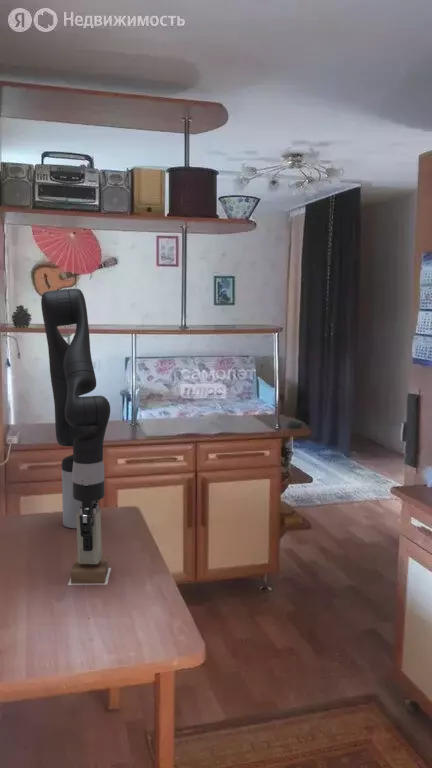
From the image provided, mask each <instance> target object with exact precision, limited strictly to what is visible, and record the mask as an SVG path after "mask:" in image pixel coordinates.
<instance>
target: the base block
mask: <svg viewBox="0 0 432 768" xmlns="http://www.w3.org/2000/svg"><path fill="white" fill-rule="evenodd" d="M108 568H109V557H102V558H101V560H100V561H99V563H98V564H81V563H78V557H76V558H75V559H74V562H73V565H72V568H71V570H70V578H71V584H96V583H105V580H106V576H107V573H108Z"/></svg>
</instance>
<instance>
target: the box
mask: <svg viewBox="0 0 432 768" xmlns="http://www.w3.org/2000/svg"><path fill="white" fill-rule="evenodd" d="M79 516H80V510H79V511H78V512H77V513H76V523H77V528H76V542H77V543H76V544H77V558H78V563H81V564H98V563H99V561H100V560H101V558H103V548H102V546H103V545H102V544H103V543H102V524H101V523H102V520H101V519H102V518H101V508H100V507H98V509H97V512H96V514H92V519H91V523H92V521H93V516H94V517H95V525H94V526H93V549H92V551H84V550H83V537H81V535H80V533H81V531H80V518H79ZM85 531H89V529H85Z"/></svg>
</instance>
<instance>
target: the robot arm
mask: <svg viewBox="0 0 432 768" xmlns="http://www.w3.org/2000/svg"><path fill="white" fill-rule="evenodd" d="M40 302H41V303H40V305H41V312H42V314H41V315H42V320H43V324H44V330H45V336H46V340H47V350H48V361H49V362H48V363H49V373H50V374H49V375H50V381H51V388H52V396H53V403H54V422H55V423H54V424H55V436H56V442H57V444H58V445H59V446H61V447H72V453H73V454H71V455H68V456H66V457H64V458H63V459H62V460H61V488H62V489H61V490H62V491H61V492H62V495H61V496H62V502H61V503H62V525H63V526H64V527H65V528H69V529H77V523H76V513H77V512H78V511H79V510H80V516H79V518H80V531H81V533H80V535H81V537H83V550H84V551H92V549H93V526H94V525H95V517H94V516H93V521H92V523H91V519H92V514H96V512H97V509H98V508H99V503H98V501H100V500H102V499H103V498H104V497H105V495H106V492H105V487H106V486H105V465H104V440H105V435H106V430H107V427H108V423H109V420H110V415H111V405H110V402H109V401H108V399H107V398H106V397H105V396H103V395H89V396H84V395H87V394H89V393H91V392H93V391H94V390H95V389H96V387H97V378H96V374H95V370H94V364H93V361H92V359H93V358H92V353H91V341H90V339H91V338H90V337H91V336H90V329H89V328H90V327H89V319H88V310H87V303H86V298H85V294H84V293H83V291H82V290H81V289H80V288H68V289H67V288H66V289H56V290H47V291H45V292H43V293H42V295H41V299H40ZM71 325H76V328H75V333H74V335H73V338H72V340H71V341H70V343H68V342H67V341H66V340H65V338H64V337H63V335H62V334H61V332H60V331H59V328H58V327H62V326H64V327H65V326H71ZM85 529H89V531H85Z"/></svg>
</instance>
